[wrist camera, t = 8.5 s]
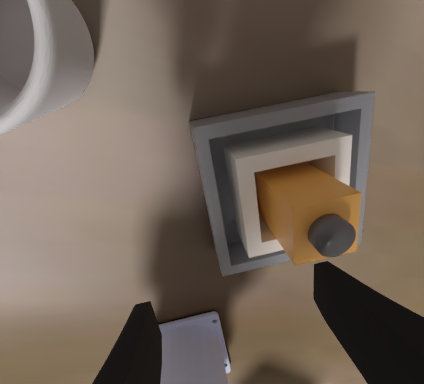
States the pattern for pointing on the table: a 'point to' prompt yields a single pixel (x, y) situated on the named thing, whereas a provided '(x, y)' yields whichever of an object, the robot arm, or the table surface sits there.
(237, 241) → the walled box
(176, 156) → the table surface
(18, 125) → the cup
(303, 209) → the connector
